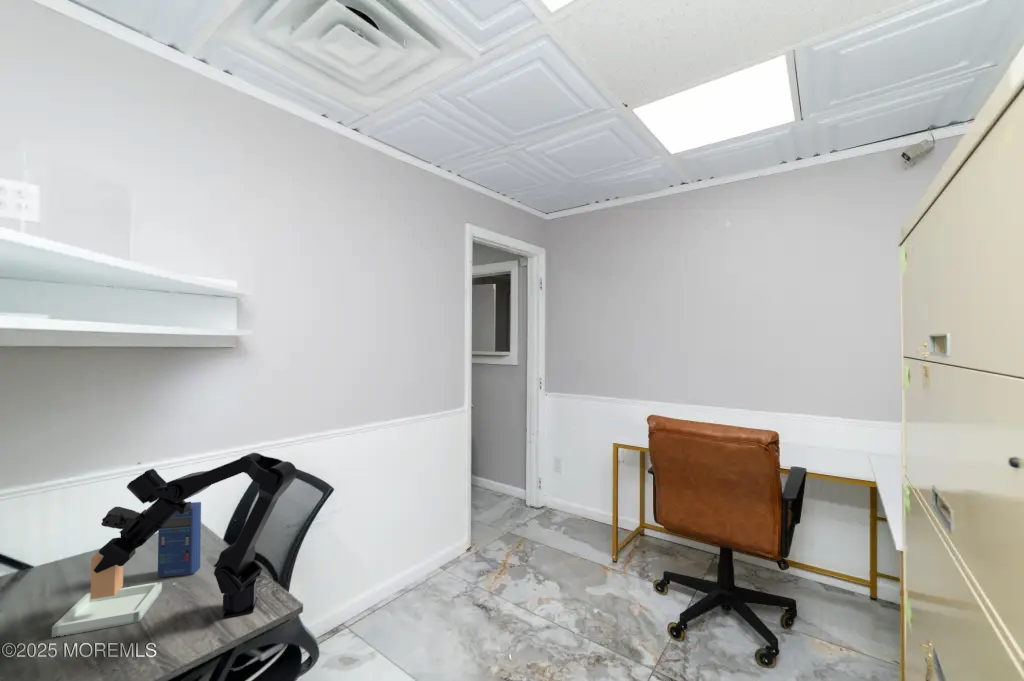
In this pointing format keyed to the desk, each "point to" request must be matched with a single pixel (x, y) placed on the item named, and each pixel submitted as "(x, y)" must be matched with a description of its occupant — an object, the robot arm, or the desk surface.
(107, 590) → the block
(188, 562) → the electronic device
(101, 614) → the tray
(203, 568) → the desk surface
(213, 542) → the desk surface
